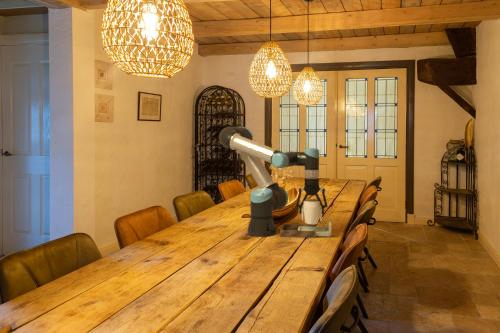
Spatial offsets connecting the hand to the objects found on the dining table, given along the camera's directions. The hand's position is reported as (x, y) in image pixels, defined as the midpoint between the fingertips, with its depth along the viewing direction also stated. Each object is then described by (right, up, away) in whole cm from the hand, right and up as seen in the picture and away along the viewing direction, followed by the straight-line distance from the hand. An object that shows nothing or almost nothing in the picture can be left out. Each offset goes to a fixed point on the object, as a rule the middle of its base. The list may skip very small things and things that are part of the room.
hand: (311, 220), depth 237 cm
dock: (-7, -7, +2) cm, 10 cm away
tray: (+1, -7, 0) cm, 7 cm away
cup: (0, -2, 0) cm, 2 cm away
